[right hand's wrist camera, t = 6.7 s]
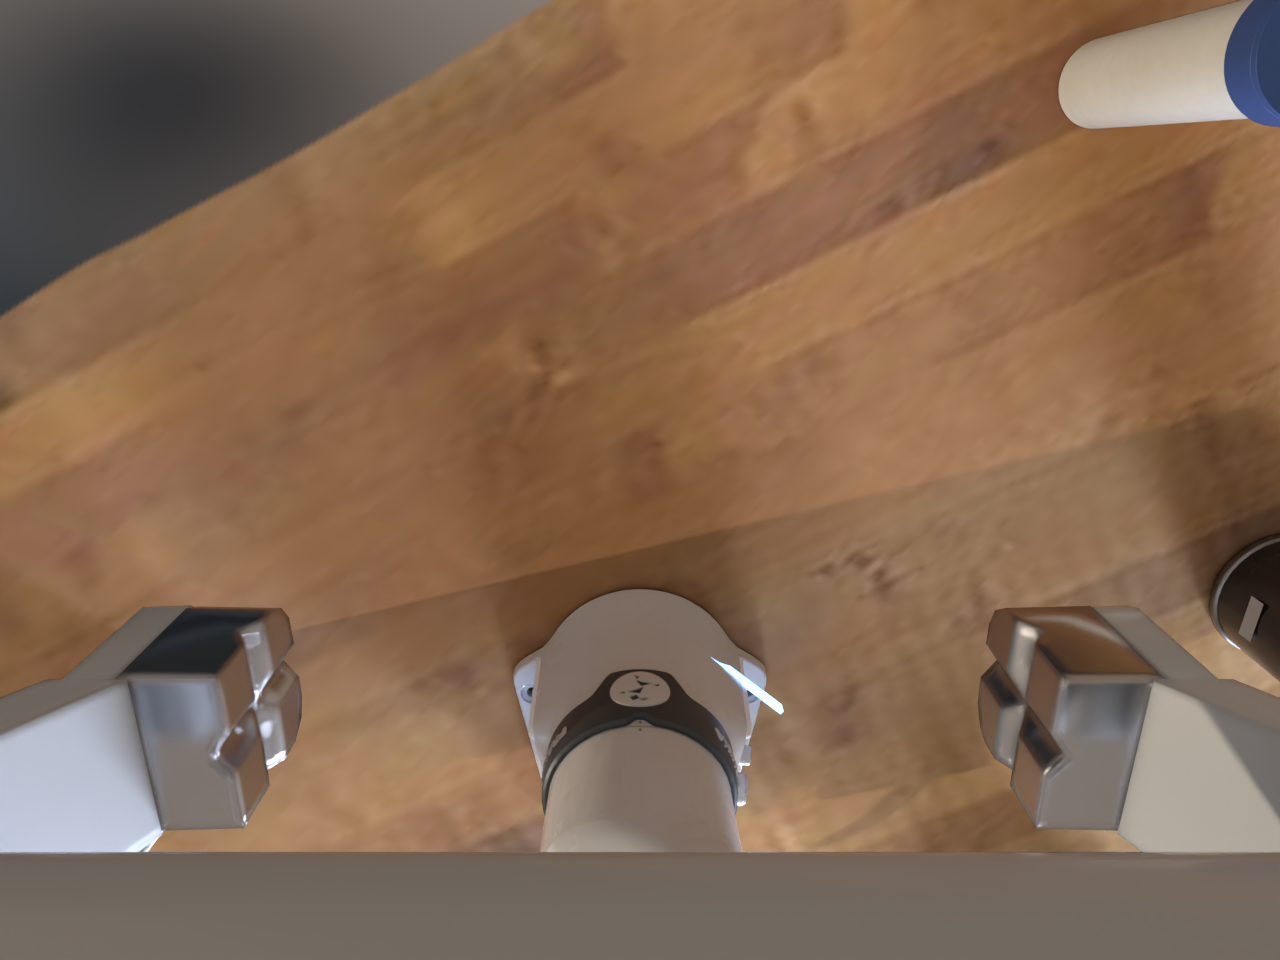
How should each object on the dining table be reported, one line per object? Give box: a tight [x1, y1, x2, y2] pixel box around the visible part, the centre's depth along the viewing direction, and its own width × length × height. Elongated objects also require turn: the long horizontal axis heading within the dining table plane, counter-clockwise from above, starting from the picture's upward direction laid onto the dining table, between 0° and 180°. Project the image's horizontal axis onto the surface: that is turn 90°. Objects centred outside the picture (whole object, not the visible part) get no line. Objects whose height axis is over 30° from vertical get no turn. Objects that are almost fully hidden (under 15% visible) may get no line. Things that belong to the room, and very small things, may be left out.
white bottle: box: [1058, 0, 1253, 129], centre depth 43 cm, size 5×5×18 cm
